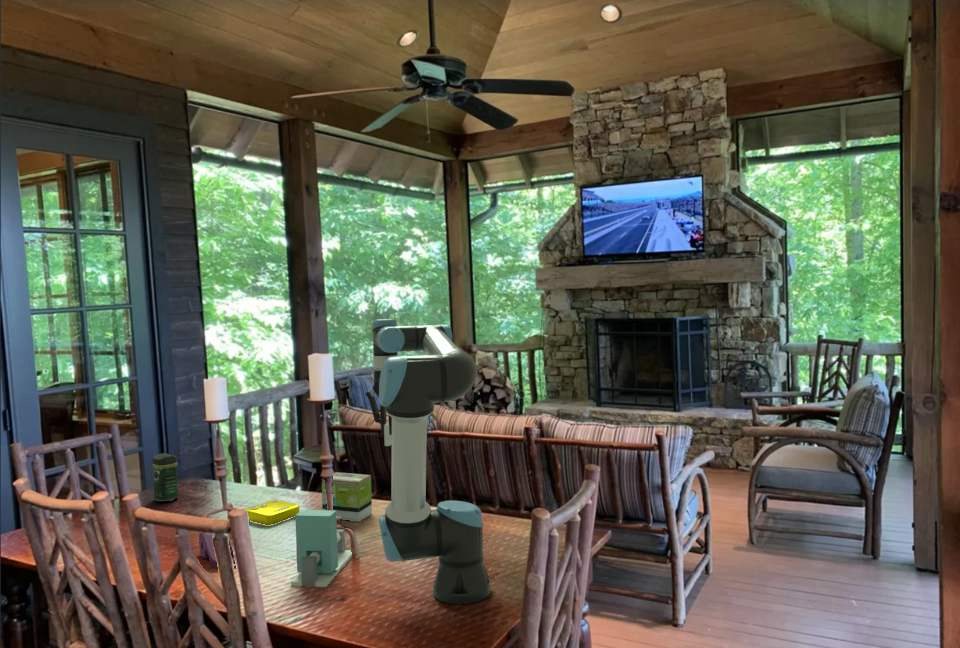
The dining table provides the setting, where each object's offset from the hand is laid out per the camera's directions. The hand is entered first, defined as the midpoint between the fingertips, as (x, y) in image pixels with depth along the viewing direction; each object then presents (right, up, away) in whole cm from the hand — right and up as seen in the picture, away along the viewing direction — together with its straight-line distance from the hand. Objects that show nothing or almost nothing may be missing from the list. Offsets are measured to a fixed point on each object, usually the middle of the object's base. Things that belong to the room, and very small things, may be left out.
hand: (388, 445), depth 211 cm
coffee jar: (-97, -33, +61) cm, 119 cm away
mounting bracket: (-50, -34, -4) cm, 60 cm away
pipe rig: (-16, -33, -14) cm, 40 cm away
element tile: (-47, -33, +35) cm, 67 cm away
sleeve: (-17, -32, -19) cm, 41 cm away
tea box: (-19, -32, +34) cm, 51 cm away
